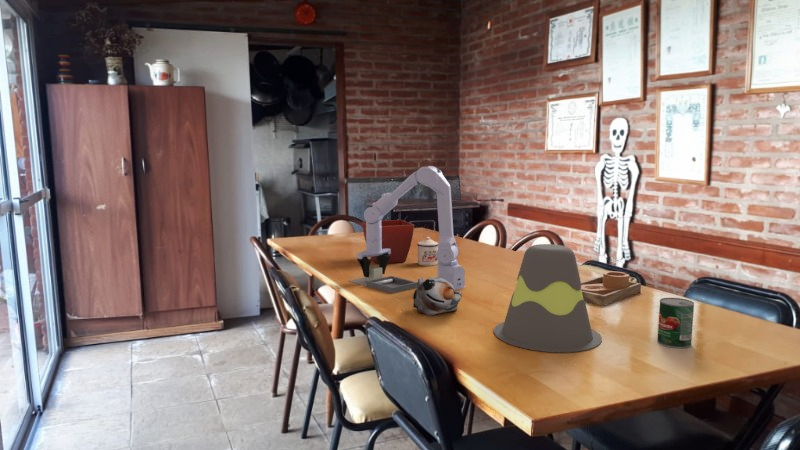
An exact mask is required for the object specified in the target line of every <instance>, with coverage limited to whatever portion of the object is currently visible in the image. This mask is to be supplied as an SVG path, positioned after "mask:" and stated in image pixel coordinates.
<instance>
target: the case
mask: <svg viewBox="0 0 800 450" xmlns="http://www.w3.org/2000/svg"><path fill="white" fill-rule="evenodd" d="M417 283H418V281H413V280H410V279H406V278H401V277H398V276H394V275H389V276H384V277H382V278H379V279H374V280H369V281H366V287H368V288H371V289H376V290H378V291H382V292H386V293H389V294H396V293H401V292H404V291H405V292H406V291H410V290H414V289H417V287H418V285H417Z"/></svg>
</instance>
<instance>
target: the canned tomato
mask: <svg viewBox="0 0 800 450" xmlns="http://www.w3.org/2000/svg"><path fill="white" fill-rule="evenodd" d="M694 309H695V302H694V301H692V300H690V299H686V298H682V297H681V298H680V297H663V298H660V299H659V311H658V326H657V340H656V341H657V343H658V344H659V345H661V346H664V347H668V348H672V349H673V348H674V349H688V348H691V347H692V341H693V340H692V339H693V326H694V325H693V323H694V322H693V321H694Z"/></svg>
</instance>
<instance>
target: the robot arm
mask: <svg viewBox="0 0 800 450" xmlns="http://www.w3.org/2000/svg"><path fill="white" fill-rule="evenodd" d="M419 185H422V186H425V187H428V188H429V189H431V190H432V191H433V192H435V193H436V202H437V206H436V207H437V221H438V235H439V238H438V242H437V243H438V251H437V253H436V257H437V260H438V264H437V278H443V279H445V280H447V282H449V283H451V284H452V285H453V287H454V290H455V291H459V290H462V289H465V288H467V287H466V286H465V285H466V284H465V282H466V281H465V280H466V279H465V278H466V277H465V276H466V275H465V274H466V273H465V272H466V271H465V268H464V267H463V266H462V265H460V264H459V261H458V259H457V258H458V256H459V254H460V249H459V247H458V245H457V242H456V240H457V239H456V237H455V236H454V223H453V222H454V221H453V205H452V202H453V201H452V189H451V184H450V183H449V181H448V180H447V179H446V177H445V176H444V174H443V172H442V170H441V169H439V168H437V167H436V166H433V165H428V166H421V167H420V168H418V169H417V170H416V171H414V172H413V173H411V174H410V175H409V176H408V177H406V179H405V180H404V181H403V182H402V183H400V184H399V185H398V187H396V188H395V189H394V190H393V191H392V192H386V193H382V194H381V195H380V196H381V197H380V198H379V199H378V200H377V201H376V202H373V203H372V204H371V206H369V207H367V208H366V209H365V210H364V212H363V218H364V220H365V222H366V241H365V244H366V245H365V246H366V247H365V248H366V249H365V250H364V251H361V252H356V258H357V262H358V264H359V266H360V267H361V270H362V274H363V278H364V277H369V267H371V262H372V259H371V257H372V256H377V257H378V261H379V263H378V267H381V268H382V275H385V273H386V270H387V265H388V264H389V263H388V261H389V259H390V258H391V255H388V254H391V249H388V248H386V249H382V226H381V221H383V219H384V217H385V216H386V215H387V214H388V213H389V212H390V211H392V210H393V209H394V208H395V207H396V206H398V201H399V199H400V198H401V197H403V196H404V195H405V194H406V193H408V192H409V191H410V190H411V189H413V188H414V187H415V186H419Z"/></svg>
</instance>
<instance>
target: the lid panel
mask: <svg viewBox="0 0 800 450" xmlns="http://www.w3.org/2000/svg"><path fill="white" fill-rule="evenodd" d="M366 281H367V277H364V276H363V277H360V278H359V277H358V278H353V279H349V280H348V282H350V283H353V284H358V285H361V286H365V287H367V285H366Z"/></svg>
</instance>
